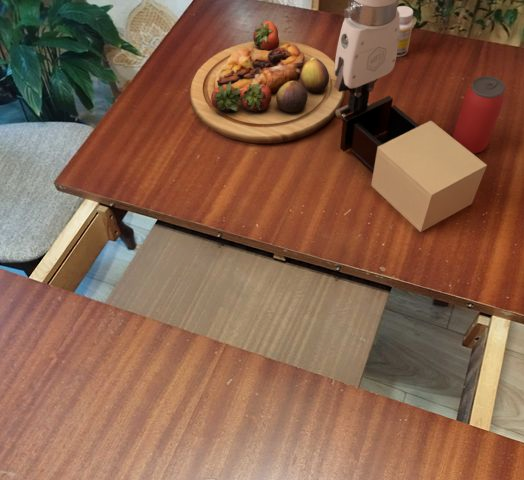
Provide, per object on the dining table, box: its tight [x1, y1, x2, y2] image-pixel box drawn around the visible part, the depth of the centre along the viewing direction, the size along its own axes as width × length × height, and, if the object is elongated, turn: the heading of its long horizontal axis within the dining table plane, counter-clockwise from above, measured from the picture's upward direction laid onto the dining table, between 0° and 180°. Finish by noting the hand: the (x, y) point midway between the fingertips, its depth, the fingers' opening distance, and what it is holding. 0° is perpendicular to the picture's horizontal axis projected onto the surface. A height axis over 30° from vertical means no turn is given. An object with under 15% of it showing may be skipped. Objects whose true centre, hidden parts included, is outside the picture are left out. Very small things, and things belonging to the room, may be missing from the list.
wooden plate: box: [189, 20, 346, 144], centre depth 109 cm, size 32×32×8 cm
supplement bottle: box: [396, 5, 414, 58], centre depth 115 cm, size 5×5×8 cm
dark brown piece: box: [335, 95, 421, 174], centre depth 99 cm, size 17×10×7 cm, turn 32°
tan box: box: [370, 120, 487, 233], centre depth 93 cm, size 14×12×9 cm
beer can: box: [451, 75, 506, 155], centre depth 97 cm, size 7×7×12 cm
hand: (356, 109), depth 100 cm, fingers closed
